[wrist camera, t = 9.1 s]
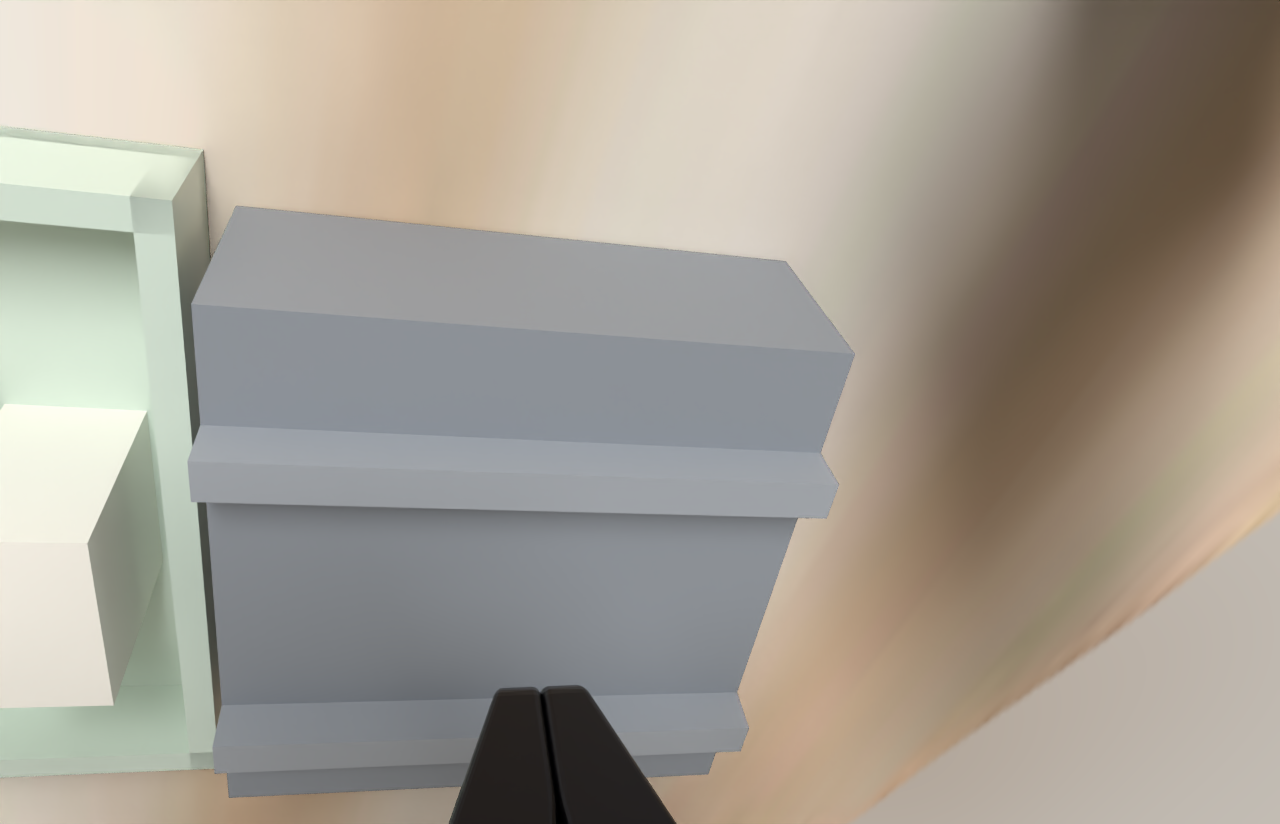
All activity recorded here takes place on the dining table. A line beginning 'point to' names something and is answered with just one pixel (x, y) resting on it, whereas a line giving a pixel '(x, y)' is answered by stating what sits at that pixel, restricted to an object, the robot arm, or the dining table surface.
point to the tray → (116, 379)
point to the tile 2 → (73, 551)
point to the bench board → (492, 488)
